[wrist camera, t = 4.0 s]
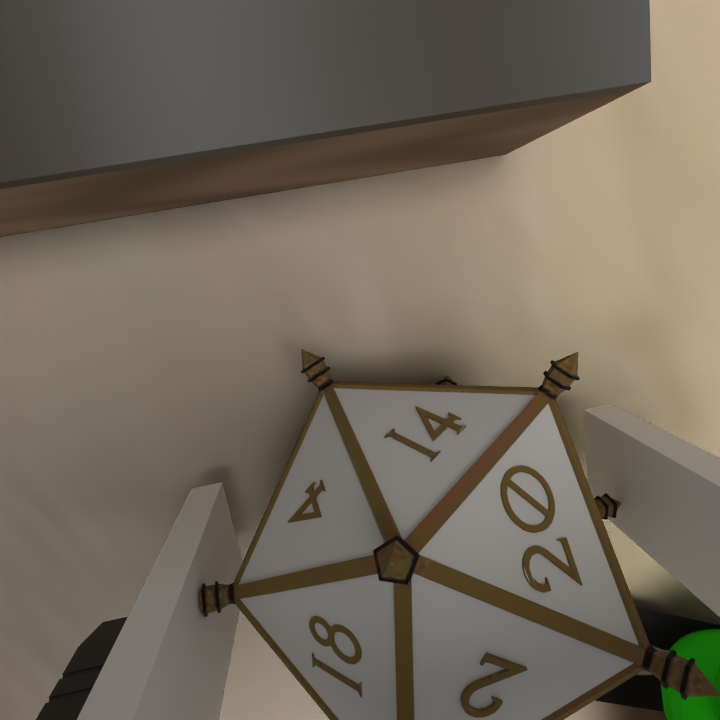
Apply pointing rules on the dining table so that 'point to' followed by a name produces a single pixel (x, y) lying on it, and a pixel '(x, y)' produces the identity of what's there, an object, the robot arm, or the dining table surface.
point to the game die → (443, 559)
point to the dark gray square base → (284, 93)
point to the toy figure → (691, 640)
